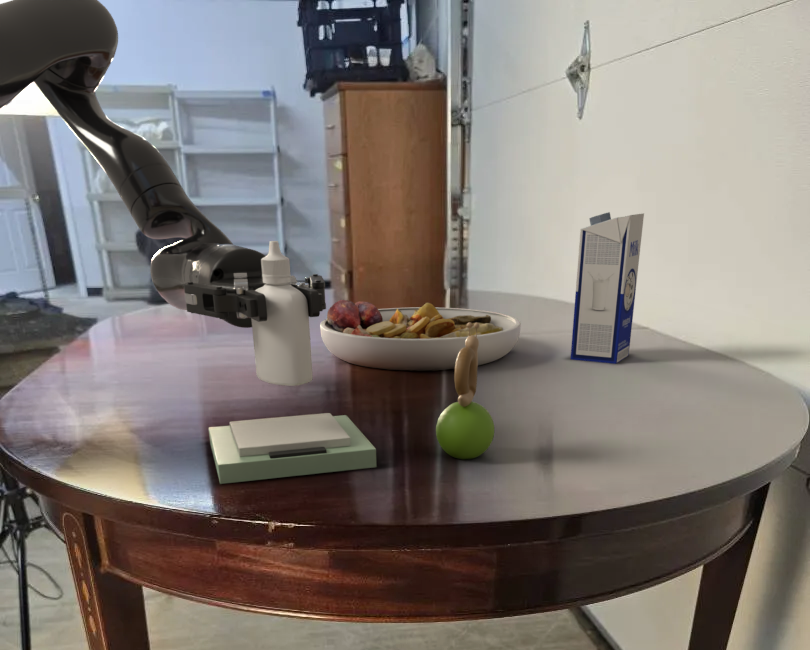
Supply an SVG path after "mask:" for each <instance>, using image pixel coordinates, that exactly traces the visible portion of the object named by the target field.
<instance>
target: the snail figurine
mask: <svg viewBox="0 0 810 650" xmlns="http://www.w3.org/2000/svg"><path fill="white" fill-rule="evenodd" d="M472 326H473V325H472V323H471V322H469V323H467V327H468V328H469V337H468V338H467V339H466V341H465V346H466V347H464V348H462V349H461V350H460V352H459V353H458V356H457V359H456V363H455V369H454V372H453V373H454V374H453V380H454V388H455V392H456V394H457V396H458V397H457V401H456V402H452V403H451V404H449V405H448V406H447V407H446V408H445V409H443V410H442V412H441V413H440V415H439V417H438V419H437V422H436V425H435V436H436V439H437V442H438V444H439V446H440V447H441V449H442V450H443V451H444V452H445V453H446V454H447V455H449V456H450V457H452V458H455V459H457V460H473V459H475V458H478V457H480V456H482V455H483V454H485V452H486V451H487V450H488V449H489V447H490V446H491V445H492V442H493V440H494V437H495V423H494V420H493V417H492V415H491V414H490V412H489V411H488V410H487V408H485V407H484V406H483V405H481V404H479V403H478V402H475V401H473V400H474V397H475V395H476V392H477V387H478V366H479V365H478V353H477V351H478V346H479V341H478V338H477V328H479V326H480V324H479V323H477V322H476V323H475V324H474V327H475V328H476V336H474V335H471V336H470V328H472Z"/></svg>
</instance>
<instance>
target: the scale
mask: <svg viewBox="0 0 810 650" xmlns="http://www.w3.org/2000/svg"><path fill="white" fill-rule="evenodd" d="M208 436H209V445H210V449H211V453H212V457H213V461H214V465H215V469H216V473H217V477H218V481H219V485H222V484H232V483H233V484H234V483H241V482H242V483H243V482H250V481H262V480H268V479H277V478H287V477H288V478H289V477H296V476H297V477H298V476H306V475H315V474H317V475H318V474H324V473H333V472H345V471H352V470H354V471H355V470H362V469H370V468H371V469H372V468H377V448H376V447H375V445H373V444H372V443H371V442H370V440H369V439H368V438H367V437H366V436H365V435H364V434H363V432H362V431H361V430H360V429H359V428H358V427H357V425H356V424H355V423H354V422H353V421H352V420H351V419H350V417H349V416H348V415H347V414H344V415H343V414H342V415H332V413H331V412H324V413H312V414H300V415H290V416H279V417H266V418H256V419H244V420H233V421H229V425H220V426H209V427H208Z"/></svg>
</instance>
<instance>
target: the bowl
mask: <svg viewBox="0 0 810 650" xmlns="http://www.w3.org/2000/svg"><path fill="white" fill-rule="evenodd" d="M469 322H471V323H472V325H473V326H472V328H470V336H471V335H474V336H476V328H475V327H474V324H475V323H476V322H477V323H479V324H480V326H479V328H477V338H478V341H479V346H478V351H477V353H478V366H481V365H486V364H490V363H492V362H494V361H497V360H499V359H502V357H505V356H506V355H507V354H509V353H510V352H511V351H512V350H513V349H514V348H515V346H516V345H517V343H518V341H519V338H520V335H521V324H522V323H521V321H520V319H518V318H516V317H515V316H512V315H508V314H505V313H500V312H495V311H490V310H489V311H488V310H483V309H481V310H480V309H474V308H457V307H435V306H434V305H433V304H432V303H430V302H425V304H423V305H422V306H421V307H420V306H419V307H415V306H414V307H391V308H377V306H376V305H374V304H373V303H371V302H369V301H362V300H361V301H357V302H355V303H354V302H353V301H351V300H347V299H340V300H338V301H336V302H334V303H333V304H332V305H331V306H330V307H329V308H328V309H327V313H326V318H324V319H323V320H322V321H321V322H320V324H319V329H320V336H321V340H322V342H323V345H324V346H325V348H326V349H327V350H328V351H329V352H330V354H332V355H333V356H335V357H336V358H338V359H339V360H341V361H344V362H346V363H349V364H353V365H354V366H355V365H356V366H360V367H365V368H372V369H378V370H379V369H380V370H390V371H391V370H392V371H412V372H413V371H416V372H417V371H418V372H419V371H421V372H422V371H425V372H426V371H445V370H446V371H447V370H455V363H456V359H457V356H458V353H459V352H460V350H461V349H462V348H464V347H466V346H465V341H466V339H467V338H468V337H469V328H468V327H467V323H469Z"/></svg>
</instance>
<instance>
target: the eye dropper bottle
mask: <svg viewBox="0 0 810 650" xmlns="http://www.w3.org/2000/svg"><path fill="white" fill-rule="evenodd" d="M261 265H262V277H263V283H266V284H265V285H264V286H263V287H260V288H258V289H256V290H255V291H257V292H259V293H262V294H264V295H265V298H266V308H267V321H262V322H258V321H256V320H254V319H252V318H251V320H252V327H251V329H252V341H253V350H254V351H253V352H254V359H255V360H254V363H255V372H256V373H255V374H256V377H257V379H258V380H260V381H262V382H264V383H268V384H271V385H275V386H284V387H285V386H286V387H297V386H298V387H299V386H302V385H305V384H309V383H311V382H312V381H313V378H314V377H313V376H314V375H313V362H312V361H313V359H312V344H311V331H310V330H311V329H310V317H309V314H308V303H307V299H306V297H305V295H304V294H303V293H302V292H301V291H299V290H298V289H296V288H294V287H293V286H291V285H290V284H289V282H291V275H292V274H291V263H290V258H289V257H287V256H285V255H284V254H283V253H282V252H281V248H280V244H279V241H278V240H271V241H269V245H268V252H267V255H265V257H264V258H262V259H261Z"/></svg>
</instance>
